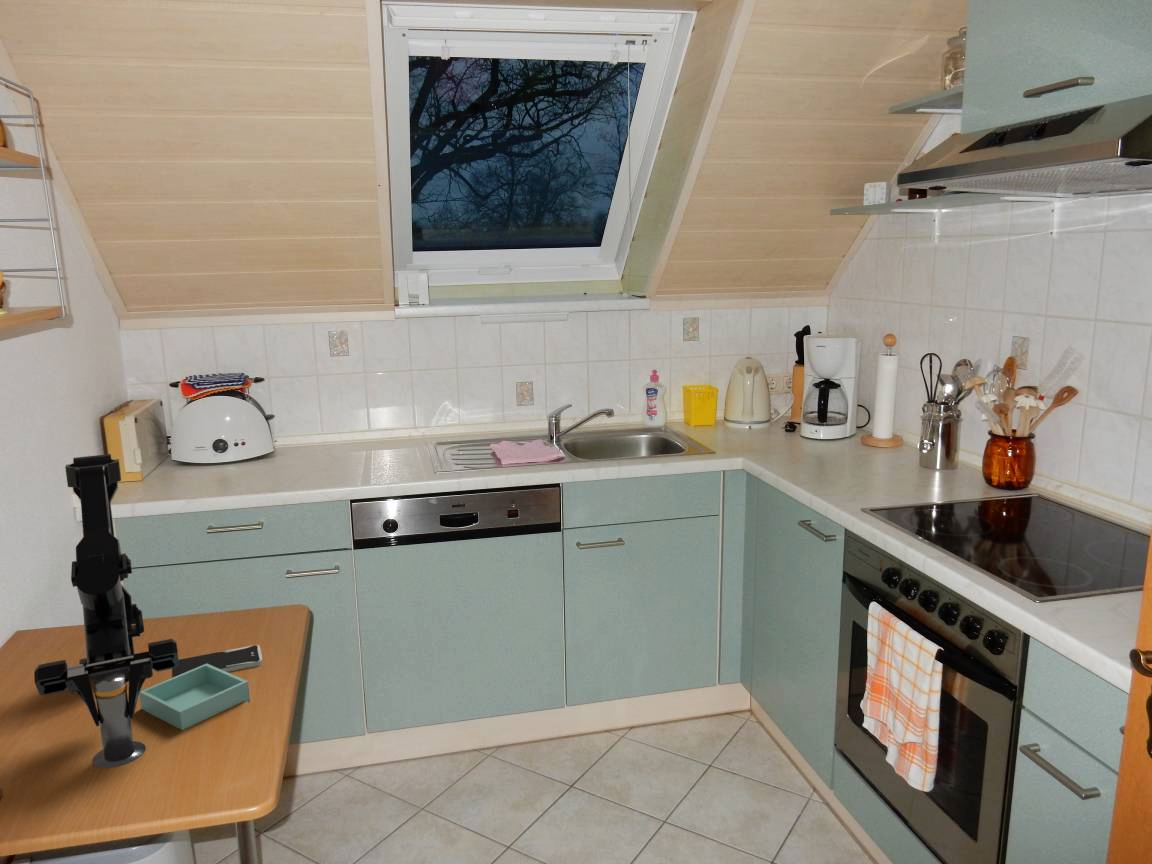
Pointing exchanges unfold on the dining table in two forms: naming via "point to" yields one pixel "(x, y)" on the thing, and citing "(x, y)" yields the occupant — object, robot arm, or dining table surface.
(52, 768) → the dining table surface
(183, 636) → the dining table surface
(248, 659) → the smartphone
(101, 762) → the dark metal disc
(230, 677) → the bin
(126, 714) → the strut
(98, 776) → the dining table surface
